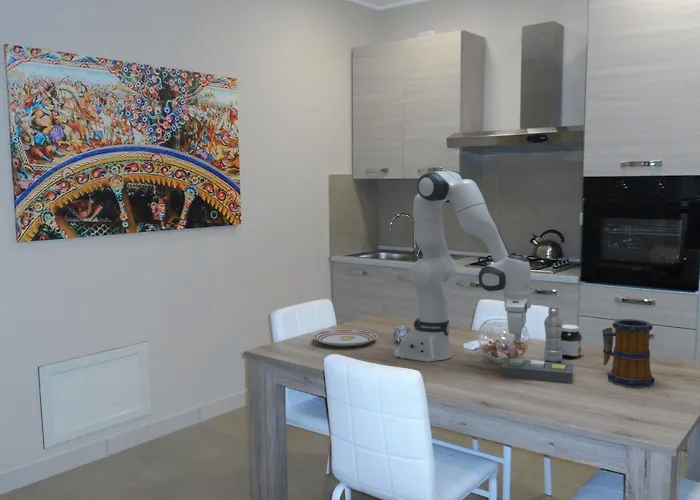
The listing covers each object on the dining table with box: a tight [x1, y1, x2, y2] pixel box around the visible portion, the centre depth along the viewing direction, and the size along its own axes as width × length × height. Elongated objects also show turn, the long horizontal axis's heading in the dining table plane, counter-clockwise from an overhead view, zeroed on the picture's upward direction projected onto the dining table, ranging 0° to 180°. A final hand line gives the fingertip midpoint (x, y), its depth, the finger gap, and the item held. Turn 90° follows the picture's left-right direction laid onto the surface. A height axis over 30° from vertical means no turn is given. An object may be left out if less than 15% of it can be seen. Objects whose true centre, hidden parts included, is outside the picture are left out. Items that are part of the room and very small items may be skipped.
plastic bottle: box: [543, 307, 564, 363], centre depth 233 cm, size 6×7×20 cm
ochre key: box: [552, 364, 566, 370], centre depth 214 cm, size 4×4×2 cm
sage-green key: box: [509, 357, 525, 366], centre depth 219 cm, size 4×4×2 cm
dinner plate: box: [312, 328, 378, 348], centre depth 268 cm, size 27×27×3 cm
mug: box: [602, 318, 656, 390], centre depth 210 cm, size 19×14×20 cm
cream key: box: [530, 359, 546, 368], centre depth 217 cm, size 4×4×2 cm
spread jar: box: [561, 324, 583, 360], centre depth 242 cm, size 12×11×12 cm
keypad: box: [500, 358, 574, 384], centre depth 217 cm, size 23×11×4 cm, turn 69°
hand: (517, 341), depth 218 cm, fingers closed
